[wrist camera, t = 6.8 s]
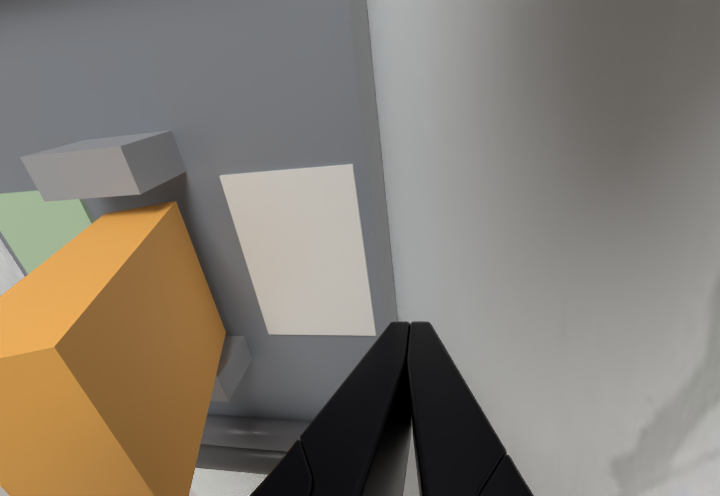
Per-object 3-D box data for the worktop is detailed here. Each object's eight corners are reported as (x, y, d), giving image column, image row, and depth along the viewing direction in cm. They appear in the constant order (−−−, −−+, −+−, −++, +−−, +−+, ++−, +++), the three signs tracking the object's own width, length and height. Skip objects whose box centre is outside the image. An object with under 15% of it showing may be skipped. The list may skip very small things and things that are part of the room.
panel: (346, -197, 9) (269, -432, 4) (407, 413, 19) (401, 522, 15) (-79, -73, 12) (-380, -147, 7) (171, 400, 22) (107, 488, 17)
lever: (176, 200, 11) (54, 346, 5) (225, 332, 13) (179, 533, 7) (105, 213, 11) (-105, 380, 5) (168, 344, 13) (75, 561, 7)
